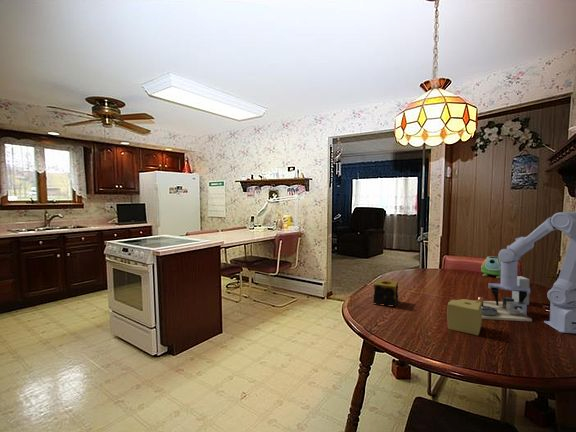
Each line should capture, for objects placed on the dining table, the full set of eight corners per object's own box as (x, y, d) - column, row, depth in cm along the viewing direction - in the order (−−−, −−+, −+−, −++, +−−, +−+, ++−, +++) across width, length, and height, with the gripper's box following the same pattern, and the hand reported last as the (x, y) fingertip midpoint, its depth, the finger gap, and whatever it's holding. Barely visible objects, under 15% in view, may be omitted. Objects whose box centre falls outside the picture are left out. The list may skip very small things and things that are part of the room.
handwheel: (491, 308, 126) (491, 297, 126) (501, 316, 117) (501, 304, 117) (468, 307, 128) (468, 296, 128) (477, 315, 119) (477, 303, 119)
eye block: (526, 315, 118) (526, 304, 118) (510, 314, 120) (510, 303, 119) (522, 312, 121) (522, 301, 121) (506, 312, 123) (506, 301, 122)
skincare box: (529, 305, 133) (530, 279, 132) (518, 304, 133) (519, 279, 133) (521, 300, 139) (522, 276, 138) (511, 300, 139) (512, 275, 139)
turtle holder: (515, 280, 171) (516, 261, 170) (479, 276, 183) (479, 257, 182) (517, 276, 180) (517, 257, 179) (482, 272, 192) (482, 254, 191)
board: (531, 321, 115) (531, 319, 115) (476, 318, 119) (476, 316, 119) (504, 303, 135) (504, 301, 135) (457, 301, 139) (457, 299, 139)
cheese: (451, 320, 118) (452, 296, 118) (483, 327, 111) (483, 301, 111) (446, 329, 110) (446, 303, 110) (480, 337, 103) (480, 310, 103)
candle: (373, 304, 137) (372, 284, 137) (377, 298, 146) (377, 278, 146) (395, 308, 133) (395, 286, 132) (398, 301, 141) (398, 281, 141)
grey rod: (526, 317, 116) (526, 306, 116) (517, 317, 117) (518, 306, 116) (510, 307, 128) (510, 297, 127) (502, 306, 128) (502, 296, 128)
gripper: (488, 275, 126) (488, 306, 127) (531, 280, 118) (530, 312, 119) (488, 272, 132) (488, 301, 133) (529, 276, 124) (528, 307, 125)
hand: (508, 306), depth 126 cm, fingers open, 7 cm apart
